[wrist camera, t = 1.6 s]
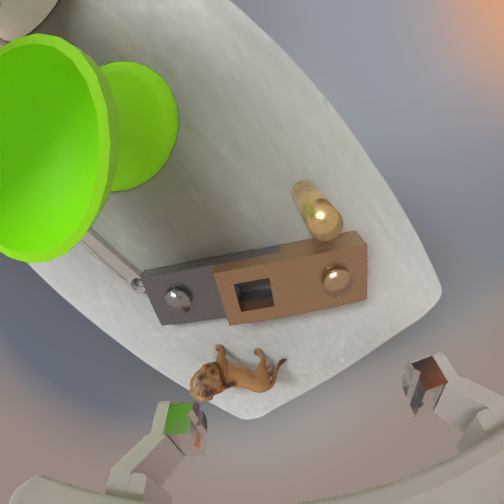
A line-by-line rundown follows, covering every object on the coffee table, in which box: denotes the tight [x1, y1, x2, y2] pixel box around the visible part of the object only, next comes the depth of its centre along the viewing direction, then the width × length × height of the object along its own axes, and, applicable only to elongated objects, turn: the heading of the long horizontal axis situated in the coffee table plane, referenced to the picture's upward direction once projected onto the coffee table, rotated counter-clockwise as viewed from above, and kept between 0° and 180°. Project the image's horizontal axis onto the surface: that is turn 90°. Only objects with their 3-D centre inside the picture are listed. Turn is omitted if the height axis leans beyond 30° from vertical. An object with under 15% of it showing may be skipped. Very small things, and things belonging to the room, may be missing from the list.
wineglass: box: [0, 33, 179, 263], centre depth 21 cm, size 16×16×18 cm
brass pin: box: [292, 181, 343, 241], centre depth 29 cm, size 3×3×10 cm
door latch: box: [141, 231, 367, 325], centre depth 37 cm, size 8×28×5 cm, turn 101°
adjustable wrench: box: [79, 227, 146, 293], centre depth 35 cm, size 25×6×2 cm, turn 38°
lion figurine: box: [190, 345, 286, 401], centre depth 42 cm, size 15×5×9 cm, turn 87°
